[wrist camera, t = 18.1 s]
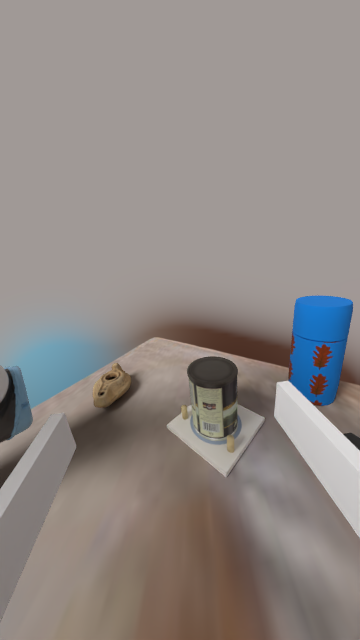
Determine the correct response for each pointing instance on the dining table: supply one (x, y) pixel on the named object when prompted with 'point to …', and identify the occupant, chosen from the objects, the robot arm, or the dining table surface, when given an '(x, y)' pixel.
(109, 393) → the oil lamp
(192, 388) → the coffee can
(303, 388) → the thermos
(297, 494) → the dining table surface
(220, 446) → the pin jig
